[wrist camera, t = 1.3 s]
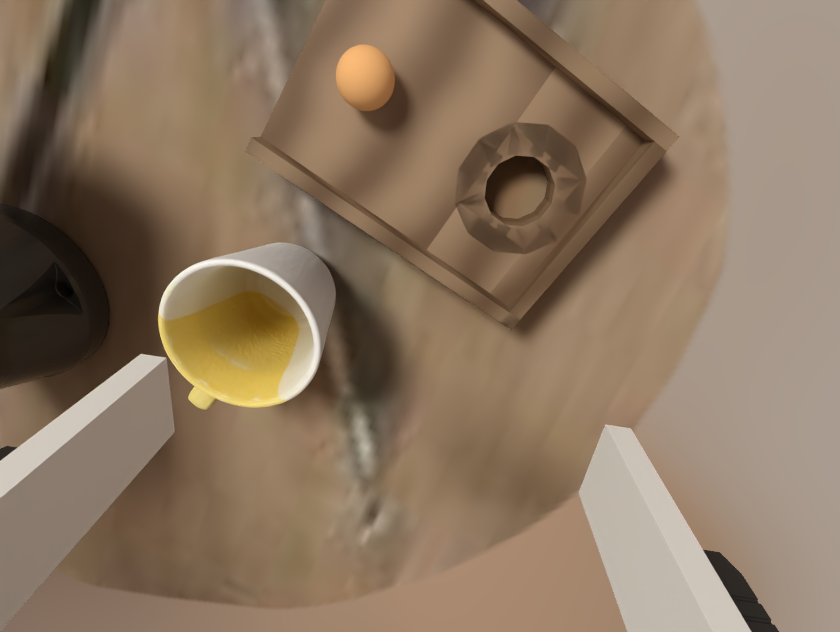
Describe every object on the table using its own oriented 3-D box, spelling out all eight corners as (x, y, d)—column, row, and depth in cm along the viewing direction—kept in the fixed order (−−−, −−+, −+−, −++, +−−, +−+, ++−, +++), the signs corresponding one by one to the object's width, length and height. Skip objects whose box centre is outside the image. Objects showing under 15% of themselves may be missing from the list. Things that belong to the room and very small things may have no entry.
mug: (291, 194, 34) (226, 223, 24) (380, 292, 36) (354, 352, 27) (185, 298, 38) (94, 358, 28) (272, 378, 41) (215, 457, 31)
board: (268, 148, 32) (245, 151, 29) (383, -88, 26) (371, -121, 23) (505, 308, 36) (511, 329, 32) (652, 134, 30) (679, 136, 27)
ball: (333, 89, 28) (318, 85, 25) (361, 36, 27) (348, 25, 24) (379, 123, 29) (370, 123, 26) (408, 72, 27) (402, 66, 24)
